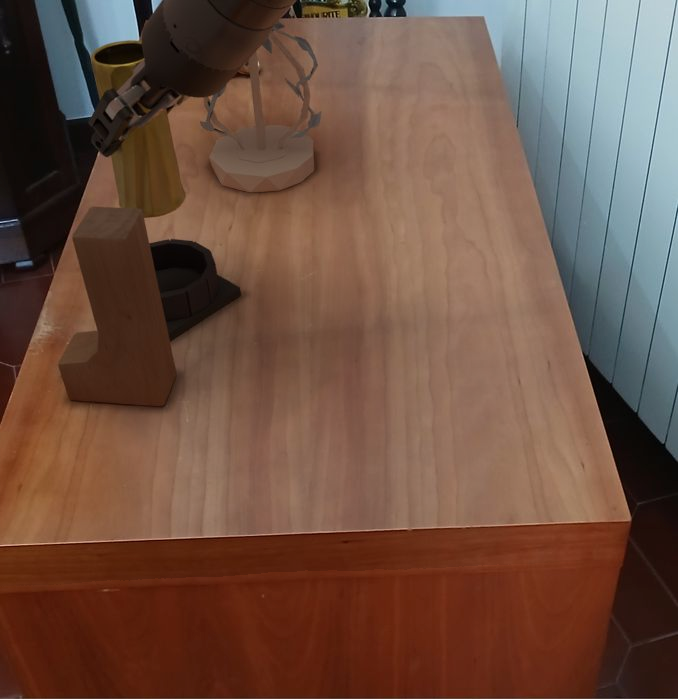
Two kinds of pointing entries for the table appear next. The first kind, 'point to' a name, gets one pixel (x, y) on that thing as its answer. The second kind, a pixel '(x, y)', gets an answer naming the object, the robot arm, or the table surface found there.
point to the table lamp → (265, 136)
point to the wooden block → (119, 315)
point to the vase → (140, 141)
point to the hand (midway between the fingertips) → (124, 132)
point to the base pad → (188, 283)
